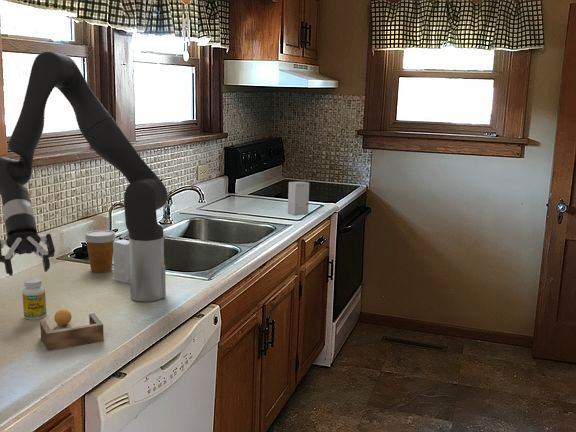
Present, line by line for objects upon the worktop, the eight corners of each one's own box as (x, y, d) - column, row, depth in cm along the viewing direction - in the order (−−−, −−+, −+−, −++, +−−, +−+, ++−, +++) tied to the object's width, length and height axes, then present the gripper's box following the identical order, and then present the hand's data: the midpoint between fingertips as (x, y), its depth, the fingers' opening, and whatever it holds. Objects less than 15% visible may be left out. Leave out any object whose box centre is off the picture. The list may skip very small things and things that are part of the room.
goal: (94, 328, 155) (94, 313, 154) (103, 340, 148) (103, 324, 147) (40, 337, 148) (40, 321, 148) (47, 350, 142) (46, 333, 141)
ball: (71, 321, 159) (70, 306, 158) (72, 327, 155) (71, 311, 155) (54, 322, 158) (53, 307, 157) (54, 328, 154) (53, 313, 153)
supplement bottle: (43, 311, 165) (41, 275, 163) (48, 318, 161) (46, 281, 159) (21, 315, 162) (19, 279, 160) (26, 321, 158) (24, 284, 156)
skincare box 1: (137, 280, 192) (136, 242, 190) (126, 283, 189) (125, 244, 187) (124, 276, 196) (123, 238, 193) (113, 279, 193) (112, 241, 190)
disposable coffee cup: (91, 265, 207) (90, 229, 205) (120, 266, 207) (119, 230, 204) (81, 273, 198) (79, 236, 195) (111, 274, 197) (110, 237, 195)
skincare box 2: (294, 215, 293) (295, 183, 289) (286, 213, 297) (287, 181, 294) (309, 213, 297) (310, 182, 294) (301, 211, 302) (302, 180, 299)
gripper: (-9, 214, 165) (-1, 268, 158) (48, 210, 172) (59, 261, 165) (-10, 230, 171) (-2, 282, 163) (46, 225, 178) (56, 275, 171)
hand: (29, 272), depth 164 cm, fingers open, 8 cm apart
